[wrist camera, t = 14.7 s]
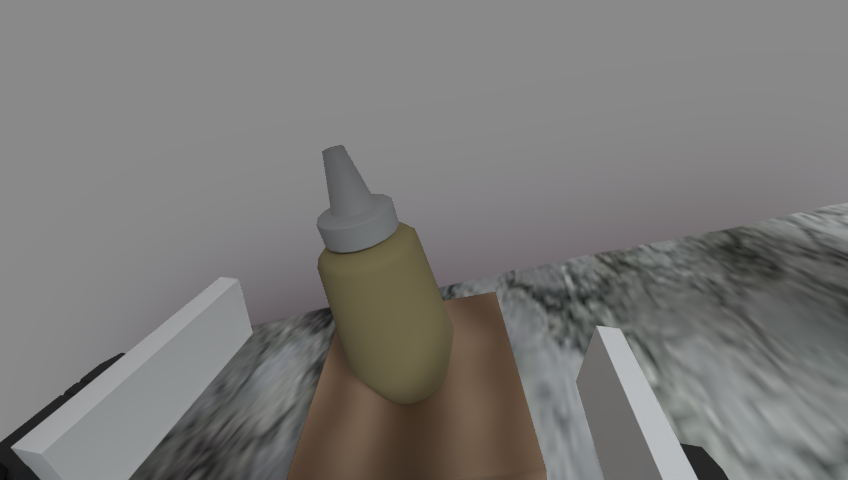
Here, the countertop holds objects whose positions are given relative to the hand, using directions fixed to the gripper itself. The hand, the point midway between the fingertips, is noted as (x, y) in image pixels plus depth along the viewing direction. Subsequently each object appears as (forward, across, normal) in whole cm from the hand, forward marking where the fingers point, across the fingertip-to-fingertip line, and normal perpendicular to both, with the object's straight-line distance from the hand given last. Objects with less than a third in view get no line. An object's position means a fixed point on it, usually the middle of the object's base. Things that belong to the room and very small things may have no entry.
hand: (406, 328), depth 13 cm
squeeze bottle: (+9, -1, -13) cm, 16 cm away
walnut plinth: (+9, 0, -18) cm, 20 cm away
